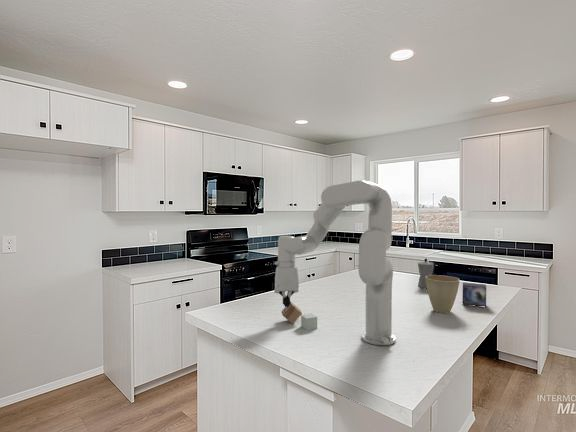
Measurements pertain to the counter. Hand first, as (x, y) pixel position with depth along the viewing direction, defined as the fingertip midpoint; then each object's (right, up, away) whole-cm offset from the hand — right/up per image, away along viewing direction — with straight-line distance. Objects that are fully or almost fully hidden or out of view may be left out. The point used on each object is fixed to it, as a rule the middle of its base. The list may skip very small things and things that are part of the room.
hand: (286, 305), depth 145 cm
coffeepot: (+88, -6, +63) cm, 109 cm away
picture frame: (+96, -6, +24) cm, 99 cm away
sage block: (+10, -7, -7) cm, 14 cm away
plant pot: (+75, -7, +14) cm, 77 cm away
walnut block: (0, -1, 0) cm, 1 cm away
